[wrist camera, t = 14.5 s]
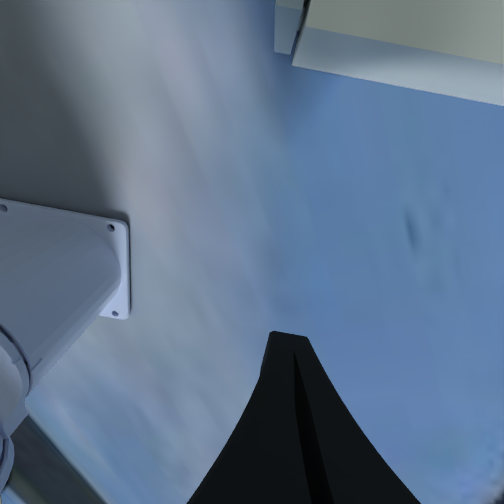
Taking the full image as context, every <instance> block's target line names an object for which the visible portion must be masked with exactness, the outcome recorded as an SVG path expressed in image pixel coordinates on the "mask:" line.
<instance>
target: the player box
mask: <svg viewBox="0 0 504 504" xmlns="http://www.w3.org/2000/svg"><path fill="white" fill-rule="evenodd" d="M292 66H296V67H302V68H307V69H312V70H317V71H323V72H328V73H333V74H338V75H344V76H349V77H354V78H359V79H365V80H370V81H375V82H380V83H385V84H391V85H396V86H401V87H406V88H412V89H417V90H422V91H427V92H433V93H438V94H443V95H448V96H453V97H459V98H464V99H469V100H474V101H480V102H485V103H490V104H495V105H501V106H504V0H309V2H308V5H307V8H306V12H305V15H304V18H303V21H302V25H301V28H300V31H299V35H298V38H297V41H296V46H295V51H294V56H293V61H292Z"/></svg>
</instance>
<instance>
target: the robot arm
mask: <svg viewBox="0 0 504 504" xmlns="http://www.w3.org/2000/svg"><path fill="white" fill-rule="evenodd" d="M4 205H5V206H6V207H7V209H6V208H5V206H4ZM110 224H112V225H113V226H114V227H115V230H114V229H112V228H111V227H110ZM115 311H117V312H118V313H116V312H115ZM98 315H100V316H105V317H111V318H116V319H122V320H125V319H127V318H128V317H129V316H130V273H129V229H128V225H127V224H126V223H125V222H124V221H121V220H116V219H111V218H105V217H100V216H95V215H89V214H84V213H78V212H73V211H67V210H62V209H56V208H51V207H46V206H40V205H35V204H29V203H24V202H18V201H13V200H7V199H2V198H0V494H1V492H2V490H3V488H4V486H5V484H6V482H7V480H8V478H9V475H10V472H11V469H12V466H13V460H14V446H13V443H12V441H11V438H10V437H9V436H10V435H11V434H12V433H13V431H14V430H15V429H16V428H17V427H18V425H19V424H20V423H21V422H22V421H23V419H24V418H25V417H26V416H27V415H28V411H27V409H26V407H25V403H24V401H25V398H26V397H27V396H28V395H29V393H30V392H31V391H32V390H33V389H34V388H35V387H36V385H37V384H38V383H39V382H40V381H41V380H42V379H43V378H44V376H45V375H46V374H47V373H48V372H49V371H50V370H51V368H52V367H53V366H54V365H55V364H56V363H57V362H58V361H59V359H60V358H61V357H62V356H63V355H64V354H65V353H66V351H67V350H68V349H69V348H70V347H71V346H72V345H73V344H74V342H75V341H76V340H77V339H78V338H79V337H80V336H81V334H82V333H83V332H84V331H85V330H86V329H87V328H88V326H89V325H90V324H91V323H92V322H93V321H94V320H95V319H96V317H97V316H98ZM187 504H421V503H420V502H419V501H418V500H417V499H416V498H415V496H414V495H413V494H412V493H411V492H410V491H409V489H408V488H407V487H406V486H405V485H404V483H403V482H402V481H401V480H400V479H399V478H398V476H397V475H396V474H395V473H394V472H393V471H392V469H391V468H390V467H389V466H388V464H387V463H386V462H385V461H384V459H383V458H382V457H381V456H380V454H379V453H378V452H377V450H376V449H375V448H374V446H373V445H372V444H371V442H370V441H369V440H368V438H367V437H366V436H365V434H364V433H363V431H362V430H361V428H360V427H359V426H358V424H357V423H356V421H355V420H354V418H353V417H352V415H351V414H350V412H349V411H348V409H347V407H346V406H345V404H344V403H343V401H342V400H341V398H340V396H339V395H338V393H337V391H336V390H335V388H334V386H333V384H332V383H331V381H330V379H329V378H328V376H327V374H326V372H325V370H324V369H323V367H322V365H321V363H320V361H319V359H318V357H317V355H316V353H315V351H314V349H313V347H312V345H311V343H310V341H309V339H308V338H307V337H305V336H300V335H294V334H289V333H283V332H277V331H272V332H270V334H269V338H268V342H267V346H266V349H265V353H264V357H263V361H262V365H261V370H260V377H259V379H258V382H257V384H256V386H255V389H254V391H253V393H252V396H251V398H250V400H249V402H248V404H247V406H246V408H245V410H244V412H243V414H242V416H241V418H240V420H239V422H238V423H237V425H236V427H235V429H234V431H233V432H232V434H231V436H230V438H229V439H228V441H227V443H226V444H225V446H224V448H223V449H222V451H221V453H220V454H219V456H218V458H217V459H216V461H215V462H214V464H213V465H212V467H211V468H210V470H209V471H208V473H207V474H206V476H205V477H204V479H203V481H202V482H201V484H200V485H199V487H198V488H197V490H196V491H195V492H194V494H193V495H192V497H191V498H190V500H189V501H188V502H187Z"/></svg>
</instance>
